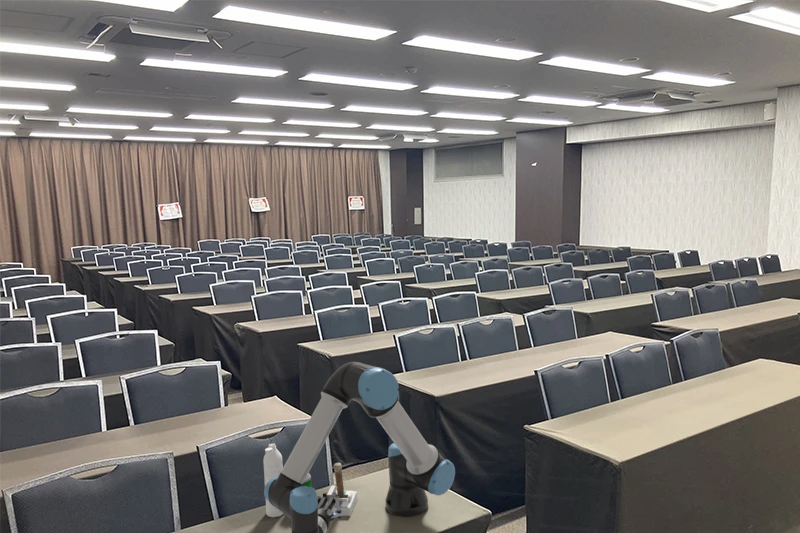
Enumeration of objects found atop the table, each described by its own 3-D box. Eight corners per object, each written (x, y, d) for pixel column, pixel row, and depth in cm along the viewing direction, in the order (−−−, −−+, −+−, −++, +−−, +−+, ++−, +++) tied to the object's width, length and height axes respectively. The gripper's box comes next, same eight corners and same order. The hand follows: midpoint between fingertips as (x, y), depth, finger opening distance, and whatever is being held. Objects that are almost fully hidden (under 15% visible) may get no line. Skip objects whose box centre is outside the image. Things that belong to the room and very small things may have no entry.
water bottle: (269, 508, 204) (265, 440, 202) (287, 508, 204) (283, 440, 202) (262, 521, 195) (258, 450, 194) (281, 521, 195) (277, 450, 193)
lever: (348, 495, 204) (345, 462, 200) (347, 500, 202) (343, 467, 198) (335, 495, 205) (331, 462, 201) (333, 500, 202) (330, 467, 198)
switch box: (357, 499, 209) (356, 487, 208) (350, 516, 197) (349, 503, 196) (333, 498, 210) (332, 486, 209) (325, 515, 198) (324, 502, 197)
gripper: (294, 537, 171) (315, 499, 194) (337, 539, 169) (353, 500, 193) (293, 513, 170) (314, 478, 194) (336, 514, 169) (352, 479, 192)
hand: (333, 489), depth 193 cm, fingers closed
